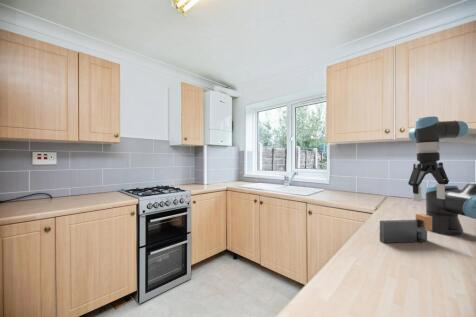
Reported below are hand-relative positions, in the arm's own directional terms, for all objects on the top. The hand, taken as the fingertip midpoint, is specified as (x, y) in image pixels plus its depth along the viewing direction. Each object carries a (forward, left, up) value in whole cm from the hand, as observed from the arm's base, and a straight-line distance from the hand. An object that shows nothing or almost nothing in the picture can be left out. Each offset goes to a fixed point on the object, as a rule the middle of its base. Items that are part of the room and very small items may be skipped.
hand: (429, 199), depth 93 cm
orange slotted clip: (+2, -1, -13) cm, 13 cm away
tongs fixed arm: (+10, -6, -18) cm, 22 cm away
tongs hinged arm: (+13, -7, -18) cm, 23 cm away
